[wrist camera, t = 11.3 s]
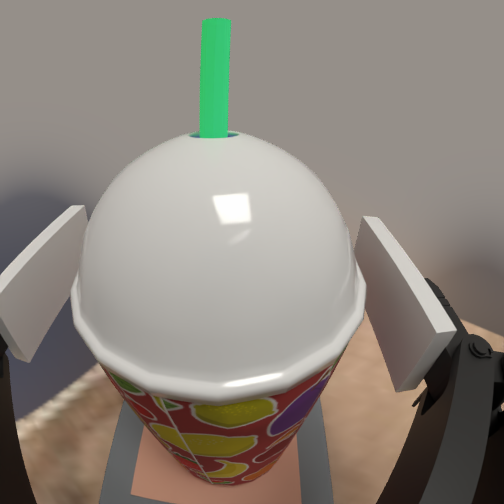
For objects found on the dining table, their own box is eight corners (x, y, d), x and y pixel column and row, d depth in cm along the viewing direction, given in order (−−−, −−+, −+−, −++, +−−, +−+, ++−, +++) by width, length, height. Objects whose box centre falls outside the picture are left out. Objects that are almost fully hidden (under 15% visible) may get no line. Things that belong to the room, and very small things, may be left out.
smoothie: (175, 384, 19) (126, 55, 8) (291, 392, 19) (351, 56, 8) (152, 488, 12) (-65, 63, 1) (295, 502, 12) (527, 29, 1)
